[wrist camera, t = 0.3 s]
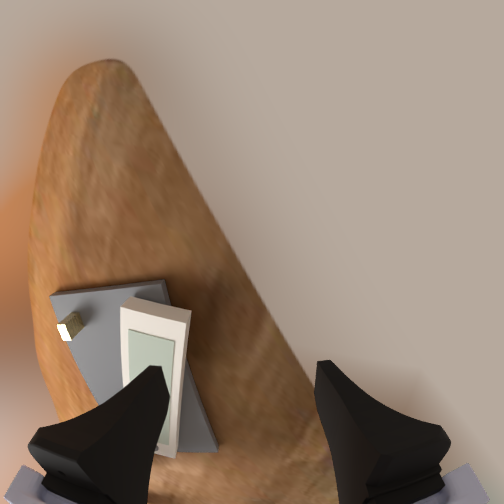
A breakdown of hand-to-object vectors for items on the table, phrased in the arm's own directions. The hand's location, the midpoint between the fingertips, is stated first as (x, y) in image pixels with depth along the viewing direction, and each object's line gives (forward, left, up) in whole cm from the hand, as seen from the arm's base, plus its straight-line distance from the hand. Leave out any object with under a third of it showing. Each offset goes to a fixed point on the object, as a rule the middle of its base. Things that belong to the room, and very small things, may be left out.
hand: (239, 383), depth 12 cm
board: (-14, +5, -10) cm, 18 cm away
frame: (-12, +3, -9) cm, 15 cm away
